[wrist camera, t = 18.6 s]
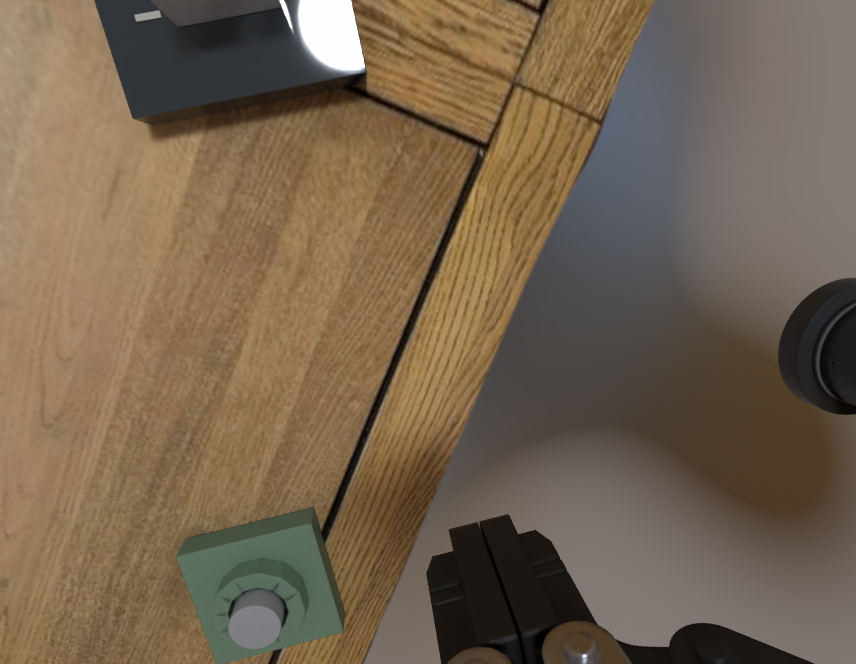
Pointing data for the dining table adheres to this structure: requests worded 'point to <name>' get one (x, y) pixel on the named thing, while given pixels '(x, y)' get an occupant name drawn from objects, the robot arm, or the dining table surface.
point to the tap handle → (210, 9)
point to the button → (256, 619)
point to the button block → (263, 580)
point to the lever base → (230, 57)
